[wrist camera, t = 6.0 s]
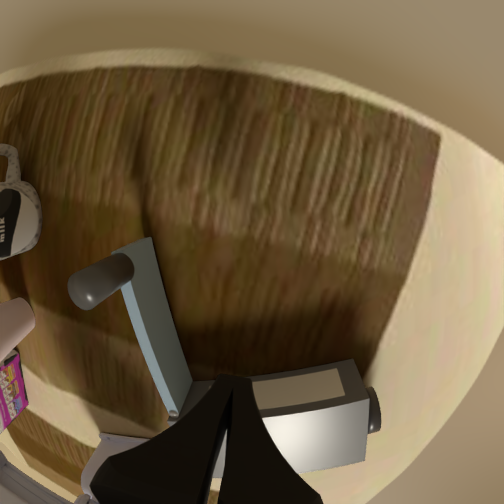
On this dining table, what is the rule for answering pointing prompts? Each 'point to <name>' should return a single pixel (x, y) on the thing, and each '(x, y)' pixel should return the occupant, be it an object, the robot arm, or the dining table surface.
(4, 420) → the candy bar box
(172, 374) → the side door
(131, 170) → the dining table surface
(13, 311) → the smoothie
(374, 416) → the camera housing
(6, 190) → the mug
